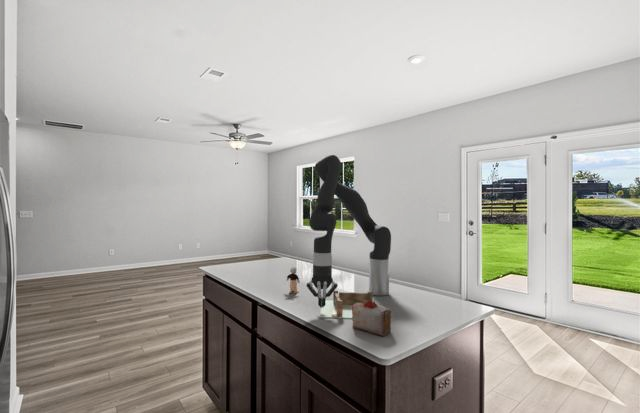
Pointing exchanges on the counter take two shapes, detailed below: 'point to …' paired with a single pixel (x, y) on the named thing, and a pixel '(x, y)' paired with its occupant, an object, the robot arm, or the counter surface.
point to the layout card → (335, 311)
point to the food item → (371, 318)
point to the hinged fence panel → (338, 303)
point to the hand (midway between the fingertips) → (321, 306)
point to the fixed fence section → (355, 297)
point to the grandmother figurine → (293, 280)
